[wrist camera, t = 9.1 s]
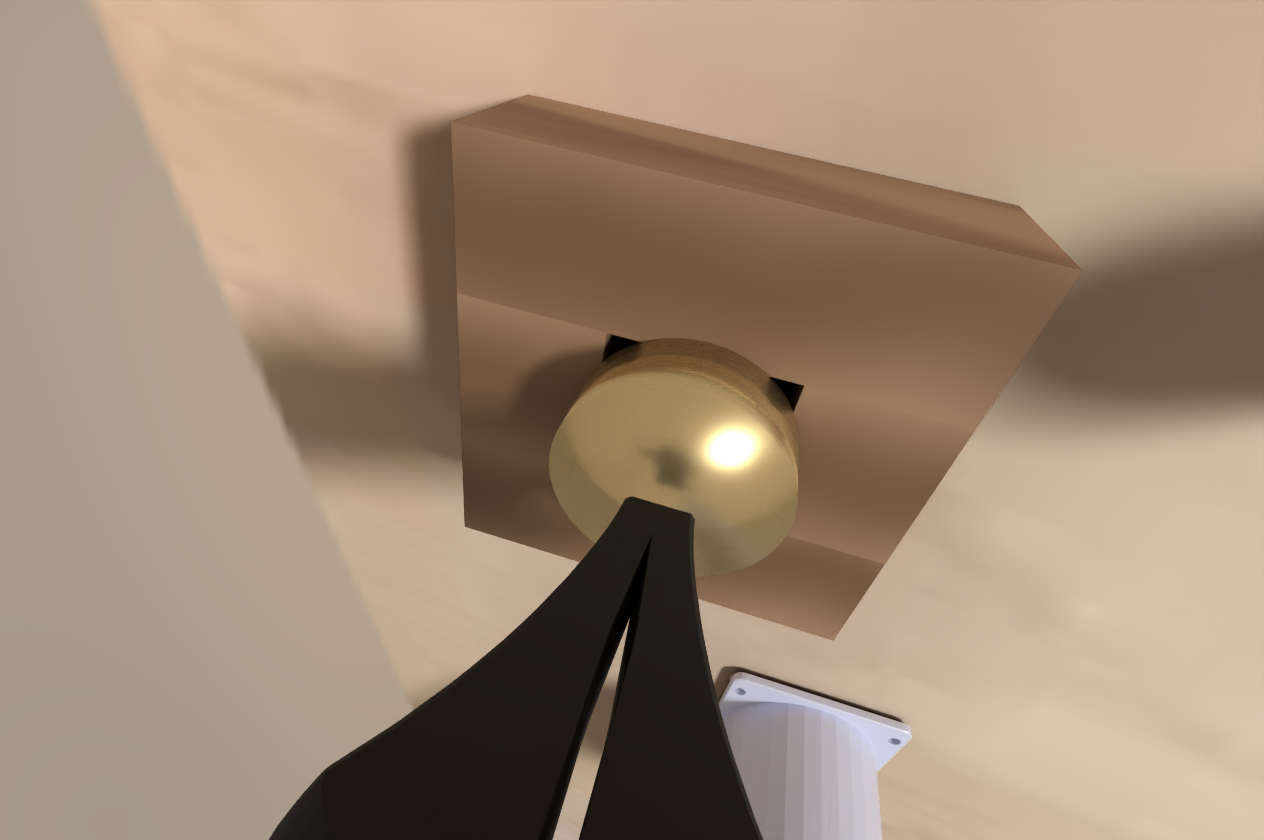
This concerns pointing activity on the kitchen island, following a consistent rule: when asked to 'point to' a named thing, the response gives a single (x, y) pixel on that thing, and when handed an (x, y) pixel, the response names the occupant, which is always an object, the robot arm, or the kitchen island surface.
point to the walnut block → (734, 322)
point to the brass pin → (683, 448)
